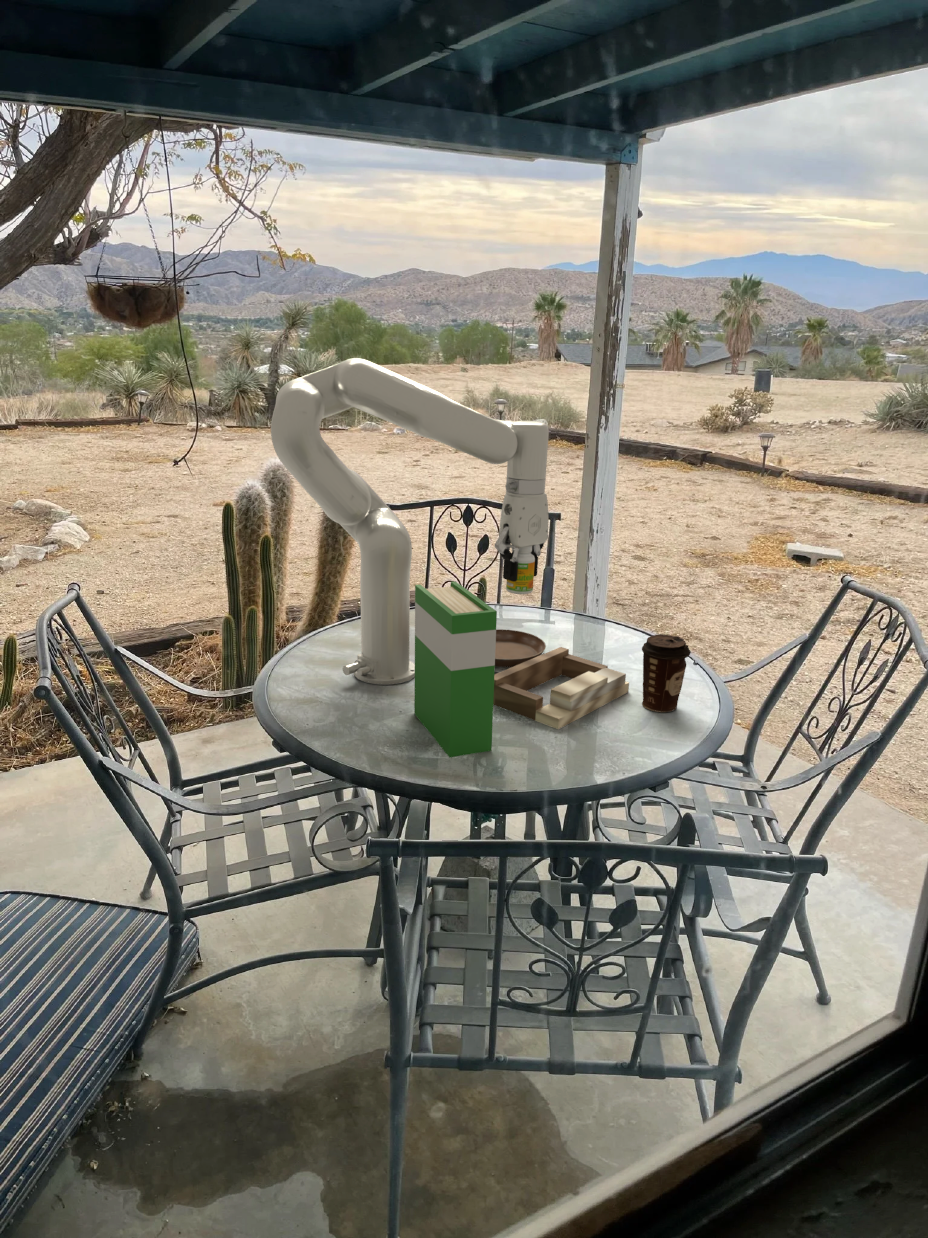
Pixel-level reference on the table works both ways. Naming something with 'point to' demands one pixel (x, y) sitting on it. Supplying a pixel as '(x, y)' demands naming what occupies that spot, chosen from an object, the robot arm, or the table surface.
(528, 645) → the plant saucer
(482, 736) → the hardback book
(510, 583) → the supplement bottle
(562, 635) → the table surface
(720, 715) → the table surface
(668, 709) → the coffee cup
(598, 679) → the frame
